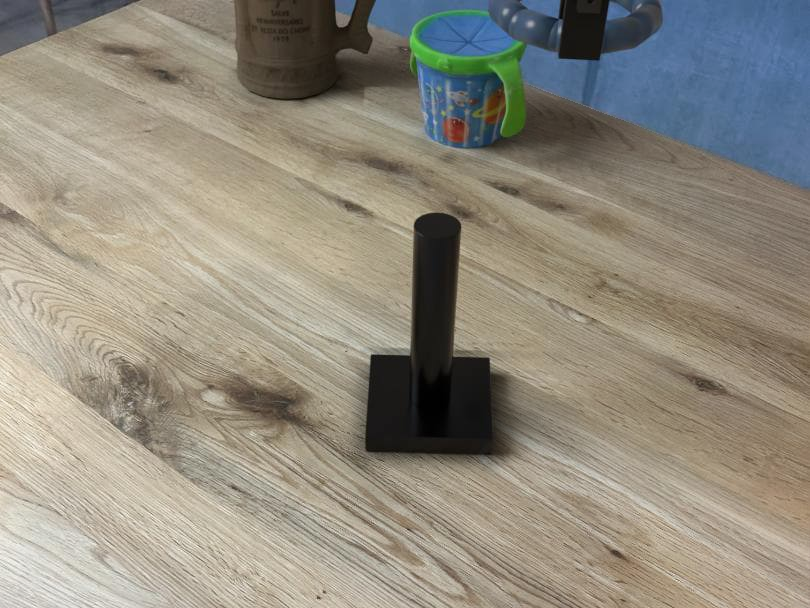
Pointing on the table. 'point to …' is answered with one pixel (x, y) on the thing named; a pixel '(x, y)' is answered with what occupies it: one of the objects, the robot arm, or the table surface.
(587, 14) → the robot arm
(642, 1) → the ring
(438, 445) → the post
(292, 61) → the beer stein
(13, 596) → the table surface
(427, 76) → the snack cup
